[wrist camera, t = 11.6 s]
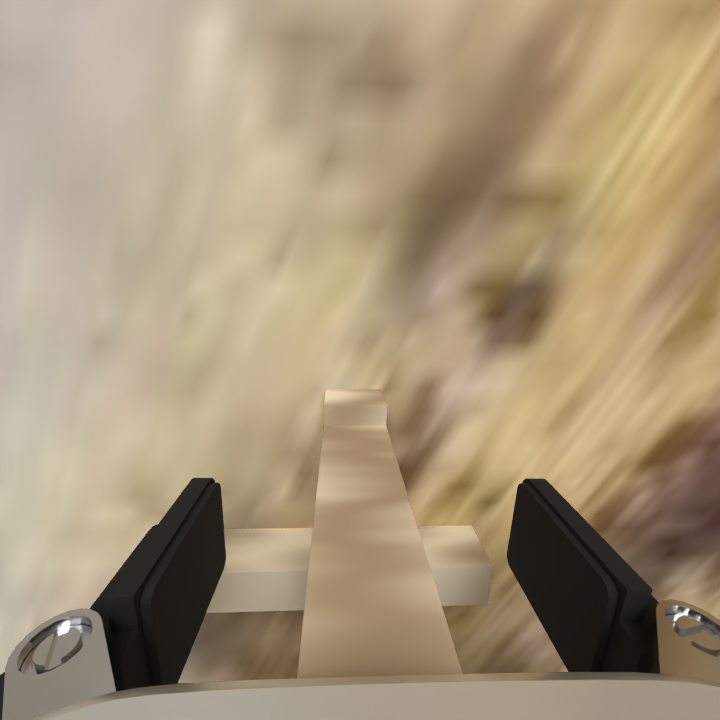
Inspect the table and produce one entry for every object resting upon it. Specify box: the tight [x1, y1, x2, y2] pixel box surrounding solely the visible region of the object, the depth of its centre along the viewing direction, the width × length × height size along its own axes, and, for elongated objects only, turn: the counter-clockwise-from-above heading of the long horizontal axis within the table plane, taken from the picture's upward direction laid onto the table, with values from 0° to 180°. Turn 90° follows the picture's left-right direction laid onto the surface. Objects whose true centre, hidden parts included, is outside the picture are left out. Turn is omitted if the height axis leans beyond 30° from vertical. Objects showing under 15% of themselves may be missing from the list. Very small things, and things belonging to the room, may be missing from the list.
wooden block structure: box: [206, 389, 493, 679], centre depth 11 cm, size 12×9×11 cm
